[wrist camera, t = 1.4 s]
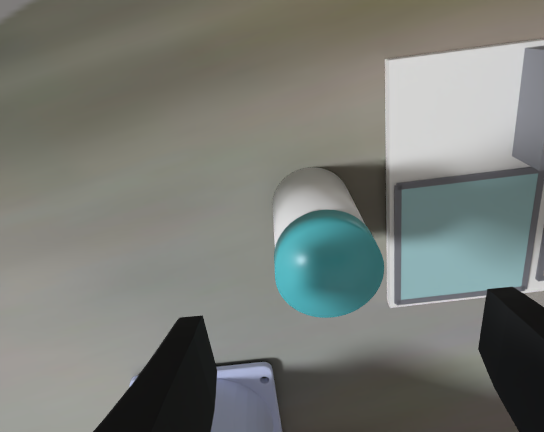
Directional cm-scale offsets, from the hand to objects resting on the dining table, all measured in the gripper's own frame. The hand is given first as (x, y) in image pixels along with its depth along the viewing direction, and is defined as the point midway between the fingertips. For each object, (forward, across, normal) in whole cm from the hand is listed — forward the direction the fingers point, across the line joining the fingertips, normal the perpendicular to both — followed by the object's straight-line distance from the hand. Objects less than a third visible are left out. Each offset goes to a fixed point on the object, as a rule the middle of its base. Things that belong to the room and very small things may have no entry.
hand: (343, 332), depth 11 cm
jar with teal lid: (+10, 0, +1) cm, 10 cm away
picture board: (+10, -10, +1) cm, 14 cm away
